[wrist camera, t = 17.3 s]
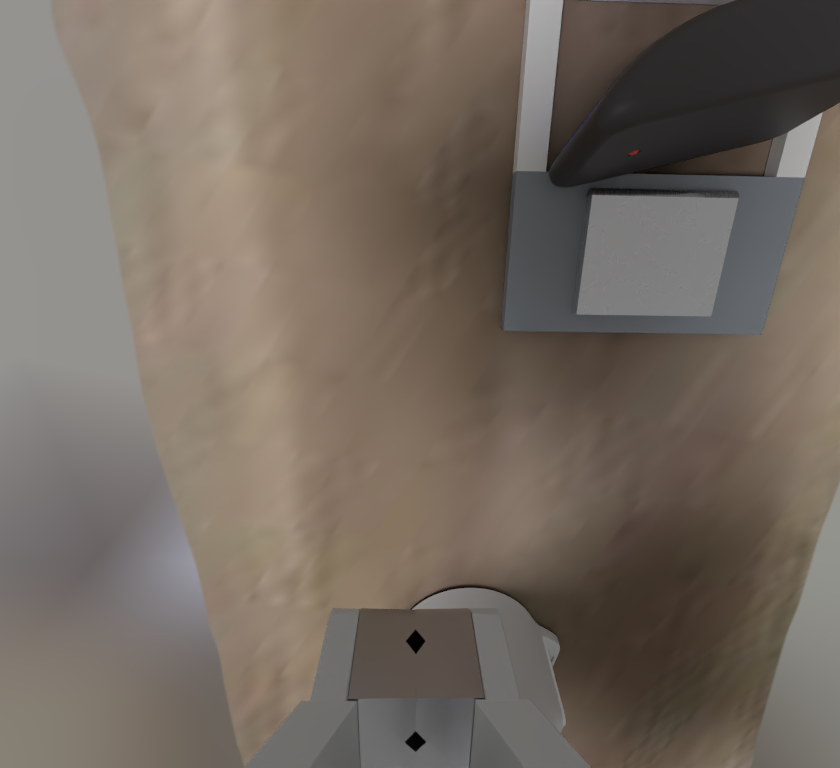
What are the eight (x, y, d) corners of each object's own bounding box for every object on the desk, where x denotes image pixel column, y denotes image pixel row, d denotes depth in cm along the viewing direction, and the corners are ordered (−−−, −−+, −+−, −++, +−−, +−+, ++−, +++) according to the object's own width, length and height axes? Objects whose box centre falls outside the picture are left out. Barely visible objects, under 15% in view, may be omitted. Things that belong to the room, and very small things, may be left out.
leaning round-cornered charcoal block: (765, 74, 29) (938, -60, 19) (776, 143, 29) (951, 45, 20) (532, 129, 29) (591, 22, 19) (546, 198, 29) (611, 125, 20)
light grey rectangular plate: (702, 314, 32) (711, 316, 31) (571, 312, 32) (576, 314, 31) (730, 191, 30) (740, 190, 29) (587, 188, 29) (593, 186, 28)
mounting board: (749, 331, 34) (761, 334, 33) (500, 327, 34) (503, 331, 32) (843, -21, 27) (862, -33, 26) (528, -32, 26) (534, -44, 25)
